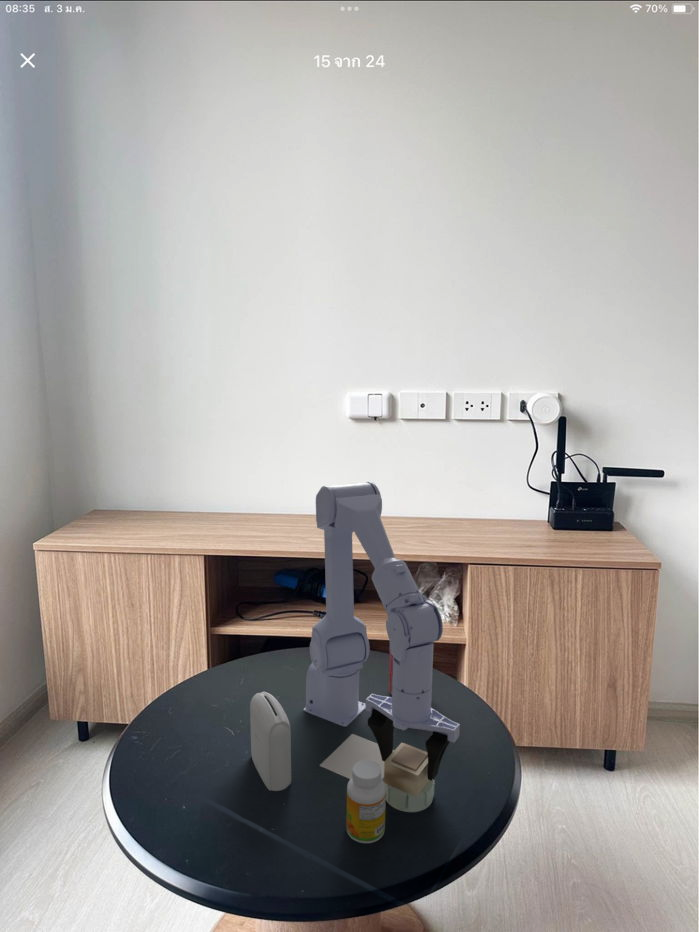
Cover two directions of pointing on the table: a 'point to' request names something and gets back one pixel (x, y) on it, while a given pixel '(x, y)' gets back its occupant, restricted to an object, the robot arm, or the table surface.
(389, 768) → the beige square box
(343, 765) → the mat
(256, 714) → the photo printer
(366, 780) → the supplement bottle
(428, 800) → the bowl
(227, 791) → the table surface
